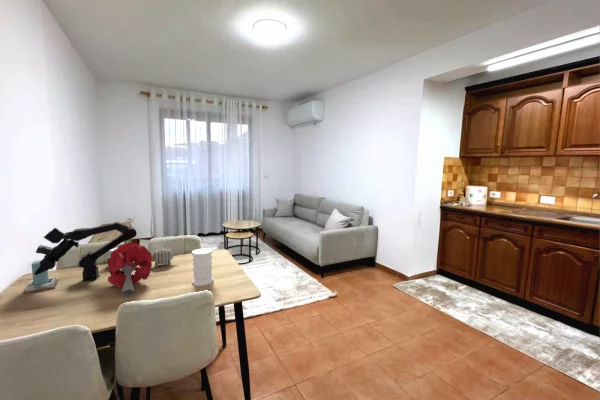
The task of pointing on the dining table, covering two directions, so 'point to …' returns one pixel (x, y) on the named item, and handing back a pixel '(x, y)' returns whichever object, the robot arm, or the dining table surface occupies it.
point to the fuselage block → (41, 277)
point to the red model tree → (129, 266)
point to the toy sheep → (162, 256)
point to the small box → (110, 253)
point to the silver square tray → (41, 286)
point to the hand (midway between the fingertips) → (36, 272)
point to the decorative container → (202, 267)
